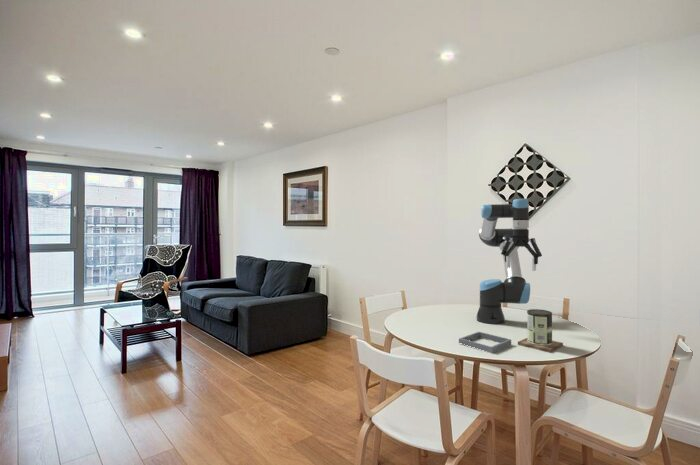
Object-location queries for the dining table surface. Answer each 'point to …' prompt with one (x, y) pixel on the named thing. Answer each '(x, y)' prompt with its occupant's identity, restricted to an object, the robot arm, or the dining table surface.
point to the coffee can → (539, 327)
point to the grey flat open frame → (503, 343)
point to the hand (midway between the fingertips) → (520, 269)
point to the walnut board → (539, 347)
